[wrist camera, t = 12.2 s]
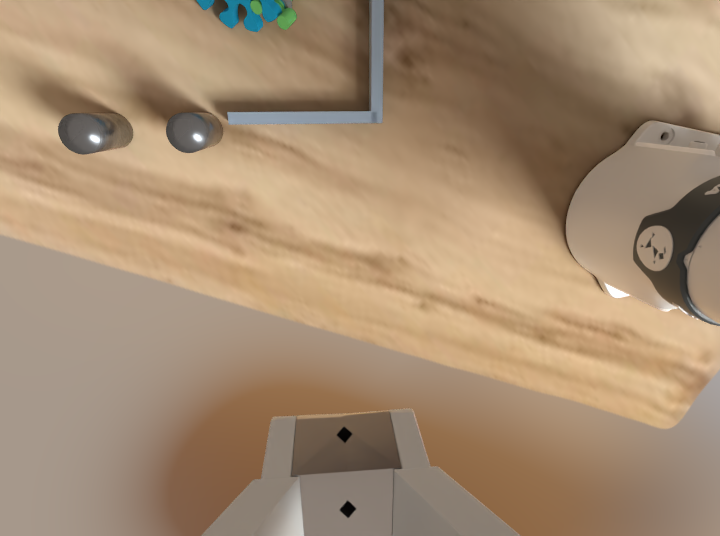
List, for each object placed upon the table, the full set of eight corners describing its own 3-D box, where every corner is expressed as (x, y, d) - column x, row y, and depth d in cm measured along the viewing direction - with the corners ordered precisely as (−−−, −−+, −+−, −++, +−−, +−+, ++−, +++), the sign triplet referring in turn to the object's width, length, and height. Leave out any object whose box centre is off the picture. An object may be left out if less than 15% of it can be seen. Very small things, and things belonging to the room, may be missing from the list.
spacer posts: (191, -143, 31) (162, -198, 26) (224, 146, 39) (208, 152, 33) (37, -149, 31) (-27, -206, 25) (102, 148, 38) (63, 154, 33)
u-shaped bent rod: (381, -104, 33) (385, -117, 31) (379, 122, 39) (382, 123, 37) (208, -110, 32) (201, -123, 30) (233, 123, 38) (228, 124, 36)
